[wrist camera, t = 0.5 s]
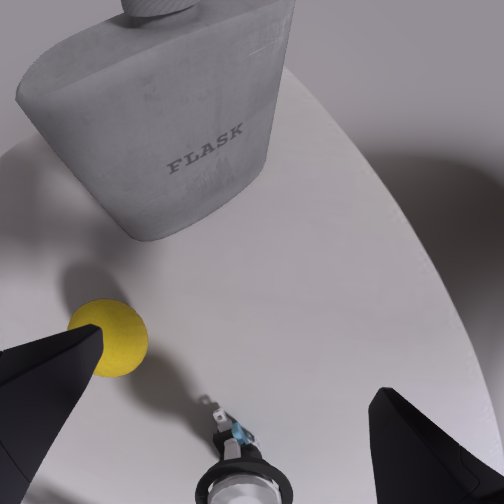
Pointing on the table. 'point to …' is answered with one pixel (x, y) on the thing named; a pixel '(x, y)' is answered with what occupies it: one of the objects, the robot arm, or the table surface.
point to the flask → (163, 106)
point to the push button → (240, 471)
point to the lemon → (115, 335)
